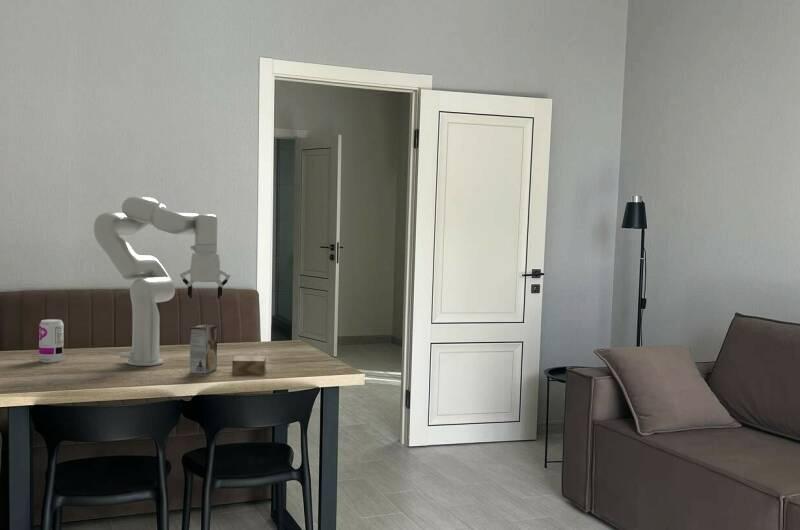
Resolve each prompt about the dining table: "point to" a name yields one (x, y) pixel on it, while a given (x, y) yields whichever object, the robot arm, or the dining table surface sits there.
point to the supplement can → (51, 340)
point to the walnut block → (249, 365)
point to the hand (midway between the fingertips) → (205, 297)
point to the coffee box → (203, 348)
